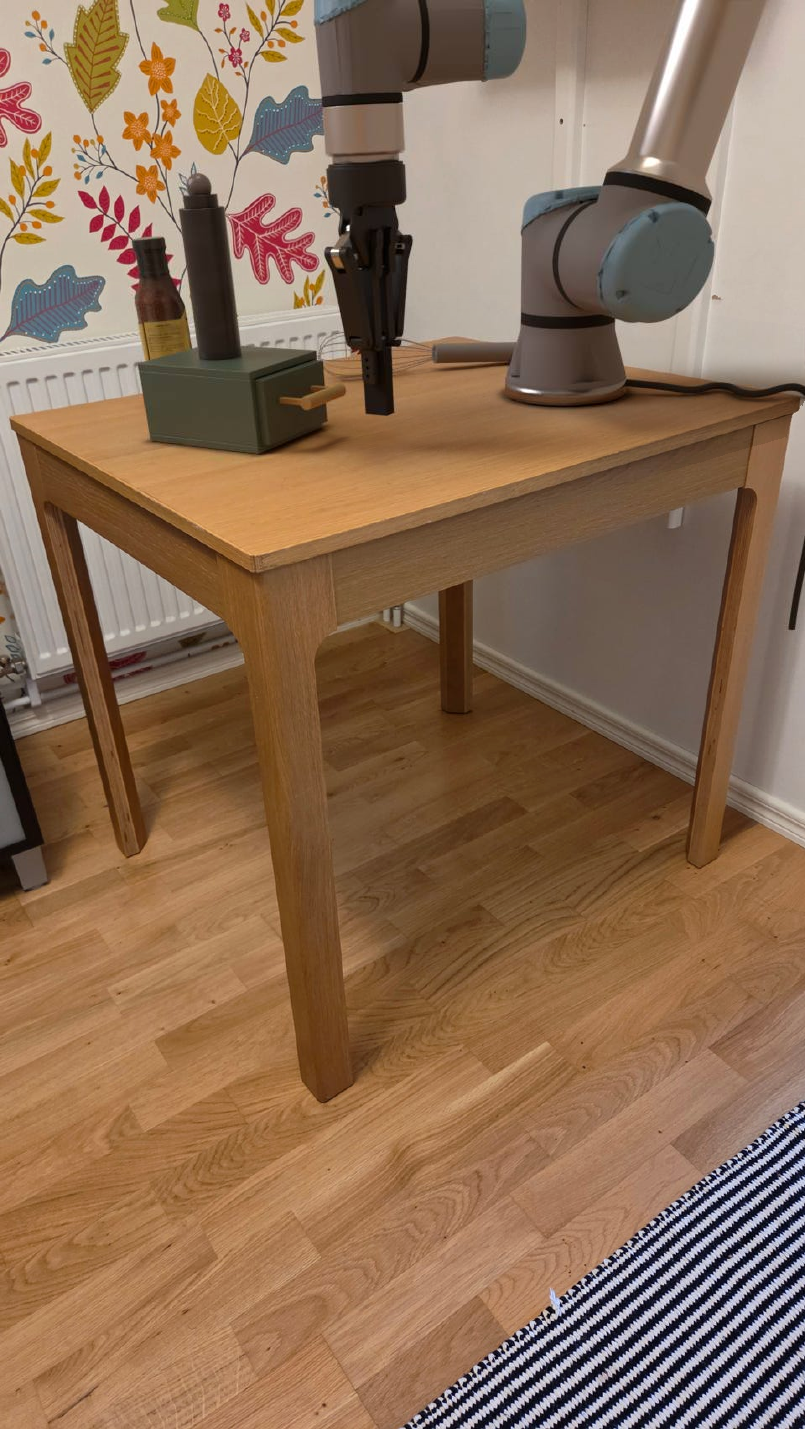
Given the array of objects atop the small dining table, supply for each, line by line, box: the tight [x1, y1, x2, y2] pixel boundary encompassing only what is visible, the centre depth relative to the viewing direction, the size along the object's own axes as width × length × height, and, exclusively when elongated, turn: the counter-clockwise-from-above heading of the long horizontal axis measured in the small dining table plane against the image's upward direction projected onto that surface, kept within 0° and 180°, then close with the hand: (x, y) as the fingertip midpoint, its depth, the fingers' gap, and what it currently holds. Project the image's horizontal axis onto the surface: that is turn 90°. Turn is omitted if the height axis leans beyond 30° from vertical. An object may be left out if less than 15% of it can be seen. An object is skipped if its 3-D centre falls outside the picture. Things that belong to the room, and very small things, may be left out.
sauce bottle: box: [131, 235, 193, 362], centre depth 126 cm, size 7×6×20 cm
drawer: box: [254, 359, 347, 445], centre depth 112 cm, size 19×11×7 cm, turn 60°
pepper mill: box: [178, 172, 242, 360], centre depth 107 cm, size 5×5×18 cm
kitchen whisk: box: [317, 331, 517, 380], centre depth 141 cm, size 6×34×6 cm, turn 105°
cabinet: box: [137, 345, 323, 455], centre depth 113 cm, size 16×13×9 cm
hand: (379, 413), depth 105 cm, fingers closed
